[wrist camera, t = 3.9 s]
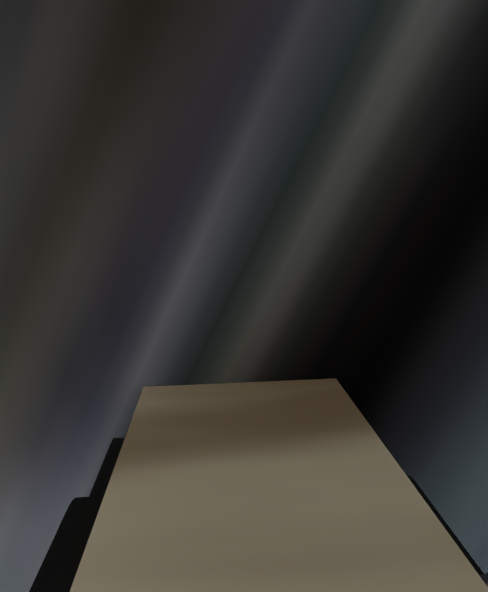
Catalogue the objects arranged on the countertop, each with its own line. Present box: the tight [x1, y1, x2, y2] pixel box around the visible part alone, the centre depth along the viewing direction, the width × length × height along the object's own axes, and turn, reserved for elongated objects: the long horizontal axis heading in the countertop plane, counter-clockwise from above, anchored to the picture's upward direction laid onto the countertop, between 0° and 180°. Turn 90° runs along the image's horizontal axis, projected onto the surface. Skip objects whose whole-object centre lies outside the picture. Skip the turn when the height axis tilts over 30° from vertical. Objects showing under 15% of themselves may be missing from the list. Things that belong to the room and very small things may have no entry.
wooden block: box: [70, 379, 488, 592], centre depth 7 cm, size 5×5×6 cm
